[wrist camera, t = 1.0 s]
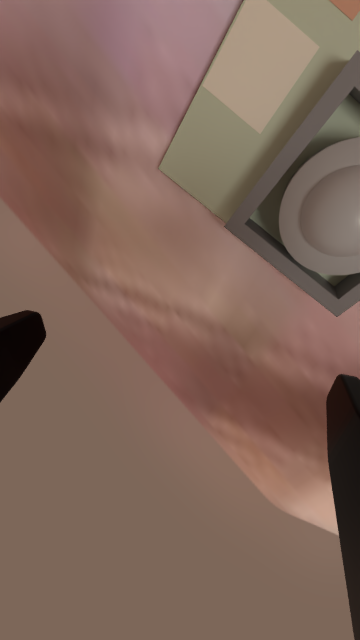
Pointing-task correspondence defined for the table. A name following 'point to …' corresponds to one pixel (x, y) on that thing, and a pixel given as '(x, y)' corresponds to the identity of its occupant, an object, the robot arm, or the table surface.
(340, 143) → the dome
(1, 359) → the robot arm
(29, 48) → the table surface
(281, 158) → the board
